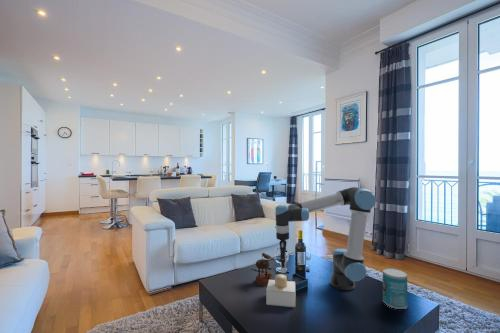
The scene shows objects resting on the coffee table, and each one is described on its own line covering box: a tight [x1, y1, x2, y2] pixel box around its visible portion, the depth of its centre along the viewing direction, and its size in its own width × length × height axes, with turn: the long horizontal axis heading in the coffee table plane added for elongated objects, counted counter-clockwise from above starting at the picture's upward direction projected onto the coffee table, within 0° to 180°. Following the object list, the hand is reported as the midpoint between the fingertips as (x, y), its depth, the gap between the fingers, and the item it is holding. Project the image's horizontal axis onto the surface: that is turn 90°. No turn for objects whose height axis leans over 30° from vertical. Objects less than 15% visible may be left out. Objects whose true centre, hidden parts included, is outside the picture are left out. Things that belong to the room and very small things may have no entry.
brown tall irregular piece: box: [250, 252, 274, 287], centre depth 171 cm, size 15×11×20 cm
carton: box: [265, 289, 296, 308], centre depth 148 cm, size 16×12×8 cm
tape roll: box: [274, 273, 288, 288], centre depth 148 cm, size 7×7×5 cm
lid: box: [266, 279, 296, 294], centre depth 148 cm, size 16×12×1 cm
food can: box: [382, 267, 408, 310], centre depth 143 cm, size 12×12×18 cm
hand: (283, 267), depth 151 cm, fingers open, 13 cm apart
